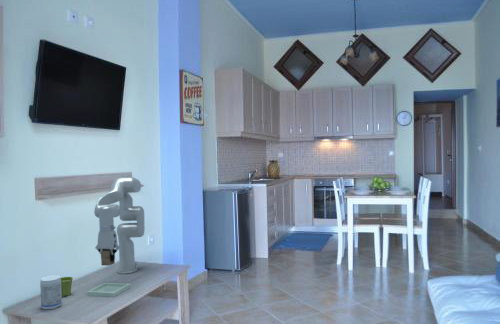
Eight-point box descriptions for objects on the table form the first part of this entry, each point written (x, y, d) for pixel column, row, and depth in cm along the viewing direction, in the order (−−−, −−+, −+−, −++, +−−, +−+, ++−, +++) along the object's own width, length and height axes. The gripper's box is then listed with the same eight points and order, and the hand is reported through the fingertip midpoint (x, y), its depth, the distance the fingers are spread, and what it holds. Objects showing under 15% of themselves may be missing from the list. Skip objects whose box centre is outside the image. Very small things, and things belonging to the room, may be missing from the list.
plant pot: (66, 298, 221) (66, 282, 221) (51, 297, 223) (50, 281, 223) (77, 292, 230) (76, 276, 230) (62, 291, 232) (61, 276, 232)
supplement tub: (42, 305, 212) (40, 276, 211) (62, 302, 215) (61, 274, 215) (40, 311, 203) (39, 281, 202) (61, 308, 206) (60, 278, 206)
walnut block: (106, 262, 233) (106, 248, 233) (114, 263, 232) (114, 249, 232) (101, 265, 228) (100, 250, 228) (109, 265, 227) (108, 251, 227)
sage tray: (105, 286, 240) (104, 282, 240) (130, 287, 236) (130, 283, 236) (87, 295, 224) (87, 291, 224) (114, 297, 220) (113, 293, 220)
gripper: (124, 227, 231) (125, 259, 231) (97, 227, 235) (98, 259, 236) (116, 229, 224) (117, 263, 224) (89, 229, 228) (90, 262, 228)
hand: (108, 260), depth 230 cm, fingers closed on walnut block, 5 cm apart
